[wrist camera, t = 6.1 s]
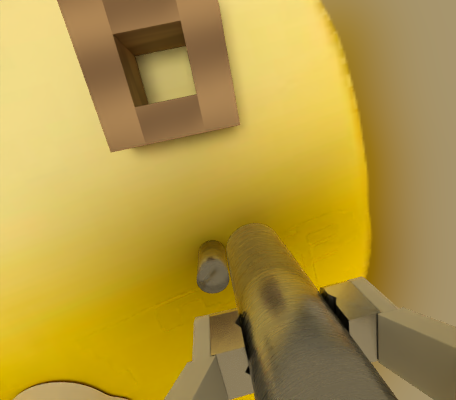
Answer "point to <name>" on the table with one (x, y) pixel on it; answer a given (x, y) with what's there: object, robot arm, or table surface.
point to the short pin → (212, 267)
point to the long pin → (293, 327)
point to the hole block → (129, 73)
